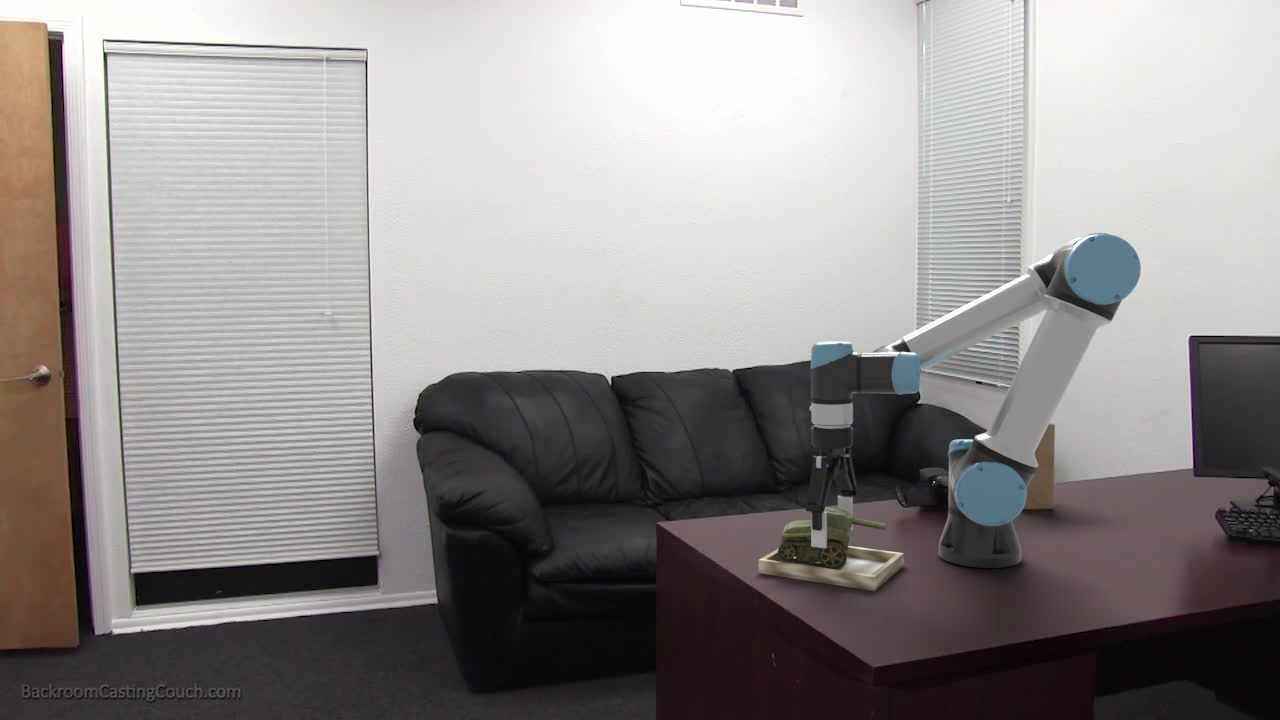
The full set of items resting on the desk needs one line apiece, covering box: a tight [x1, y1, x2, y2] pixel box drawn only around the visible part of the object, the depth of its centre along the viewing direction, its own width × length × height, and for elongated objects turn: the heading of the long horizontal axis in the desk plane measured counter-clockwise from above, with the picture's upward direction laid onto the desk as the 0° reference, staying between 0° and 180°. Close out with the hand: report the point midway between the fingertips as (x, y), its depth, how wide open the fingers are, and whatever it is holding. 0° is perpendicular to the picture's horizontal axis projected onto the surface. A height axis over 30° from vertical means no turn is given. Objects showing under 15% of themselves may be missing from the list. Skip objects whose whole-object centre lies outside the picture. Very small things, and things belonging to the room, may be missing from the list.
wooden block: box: [1022, 422, 1056, 511], centre depth 233 cm, size 10×10×20 cm
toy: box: [777, 506, 887, 570], centre depth 184 cm, size 10×18×10 cm, turn 77°
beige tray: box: [758, 545, 905, 592], centre depth 185 cm, size 22×17×2 cm
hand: (832, 538), depth 184 cm, fingers open, 13 cm apart
